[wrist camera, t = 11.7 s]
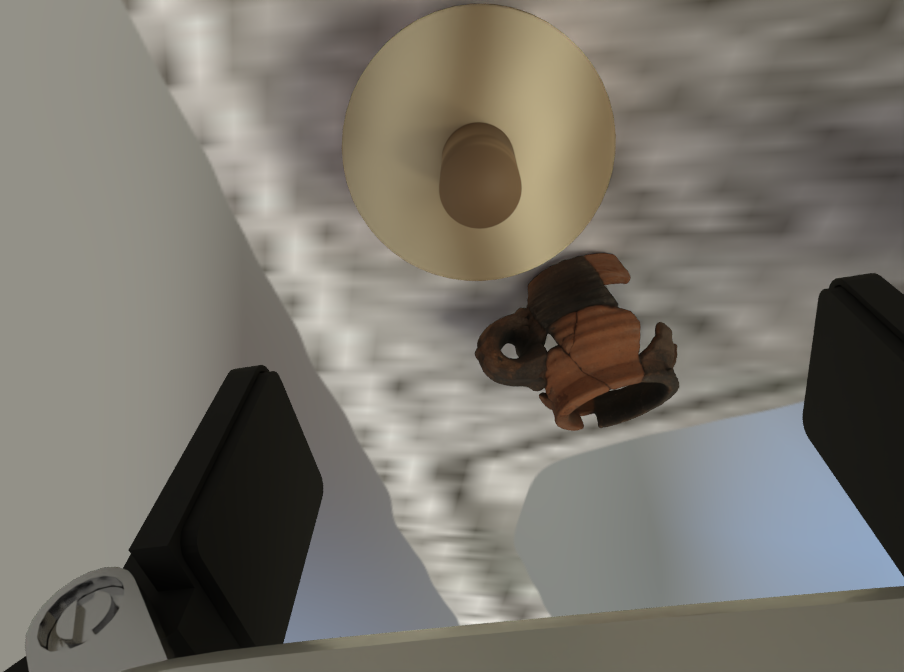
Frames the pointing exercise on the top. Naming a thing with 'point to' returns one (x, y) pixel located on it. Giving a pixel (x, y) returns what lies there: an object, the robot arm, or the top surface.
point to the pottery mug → (581, 347)
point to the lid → (478, 142)
